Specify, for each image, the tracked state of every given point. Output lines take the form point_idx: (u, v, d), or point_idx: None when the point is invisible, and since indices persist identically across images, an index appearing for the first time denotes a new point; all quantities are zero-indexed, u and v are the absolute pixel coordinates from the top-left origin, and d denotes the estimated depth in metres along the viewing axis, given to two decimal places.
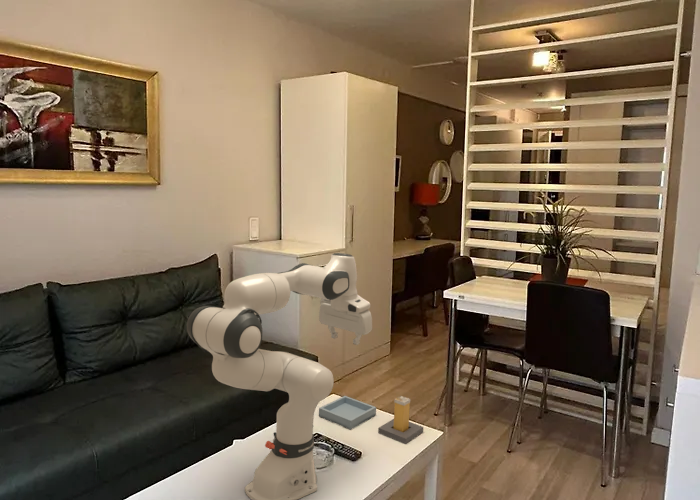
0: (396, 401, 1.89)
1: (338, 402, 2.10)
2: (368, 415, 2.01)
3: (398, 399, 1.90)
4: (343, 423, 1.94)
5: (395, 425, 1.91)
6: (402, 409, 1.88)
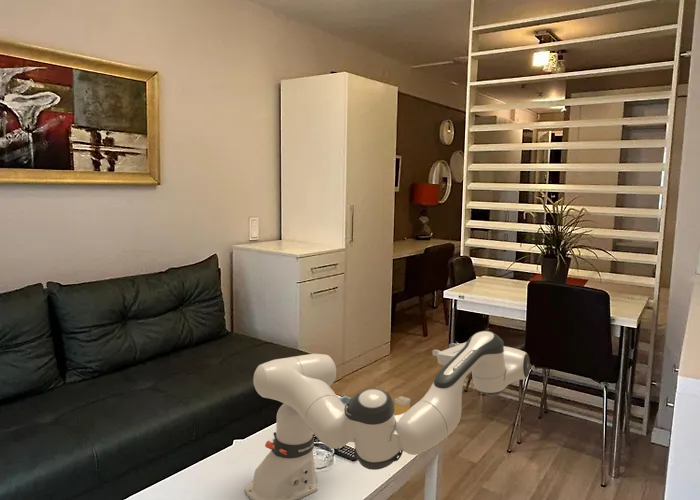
0: (396, 401, 1.89)
1: None
2: None
3: (398, 399, 1.90)
4: None
5: None
6: (402, 409, 1.88)
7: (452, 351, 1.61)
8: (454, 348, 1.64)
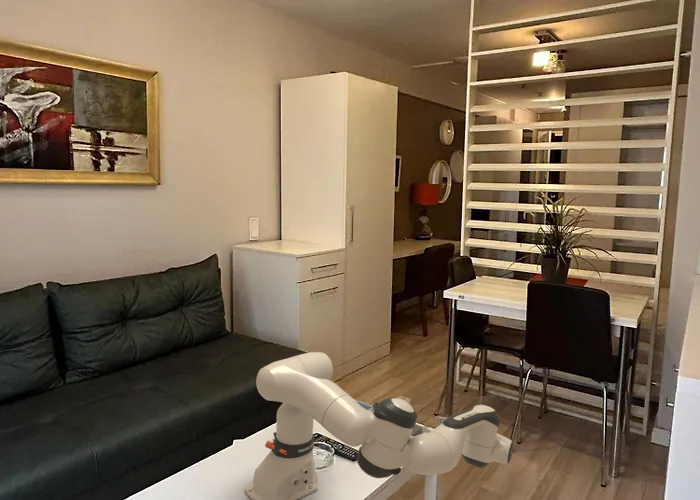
0: None
1: None
2: None
3: None
4: None
5: None
6: None
7: None
8: None
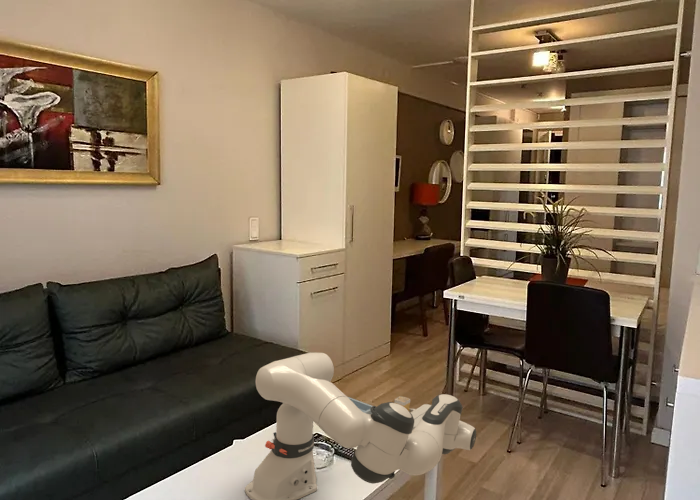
0: (396, 401, 1.89)
1: None
2: None
3: (398, 399, 1.90)
4: None
5: None
6: None
7: None
8: None
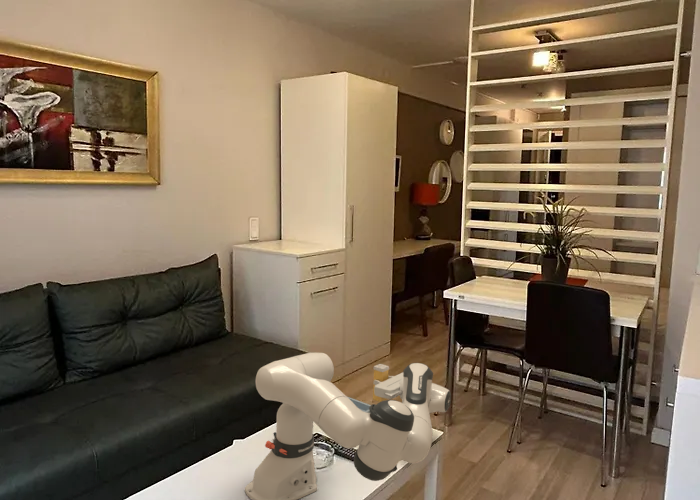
0: (375, 368, 1.94)
1: None
2: None
3: (377, 366, 1.95)
4: None
5: None
6: (381, 376, 1.93)
7: (387, 384, 1.87)
8: (389, 381, 1.90)
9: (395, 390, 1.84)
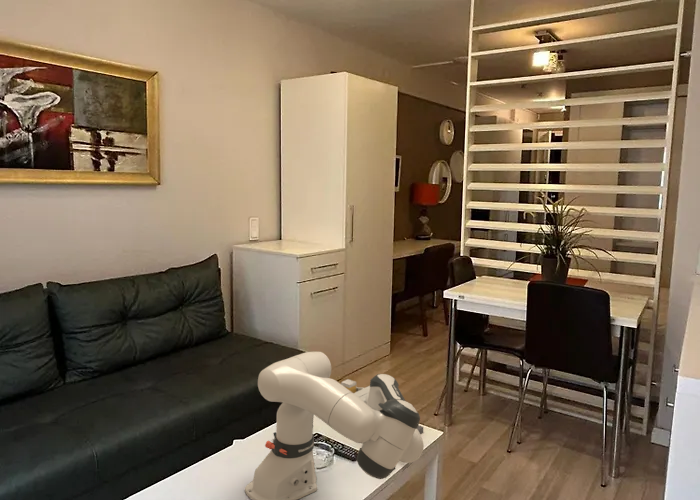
0: (342, 384, 2.01)
1: None
2: None
3: (344, 382, 2.01)
4: None
5: None
6: None
7: None
8: (355, 394, 1.97)
9: None
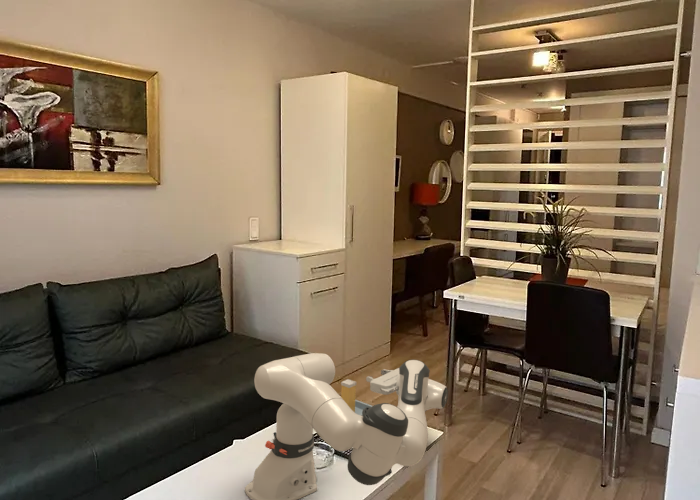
0: (342, 384, 2.01)
1: None
2: None
3: (344, 382, 2.01)
4: None
5: None
6: (348, 391, 2.00)
7: (383, 379, 1.85)
8: (385, 376, 1.88)
9: (391, 386, 1.81)
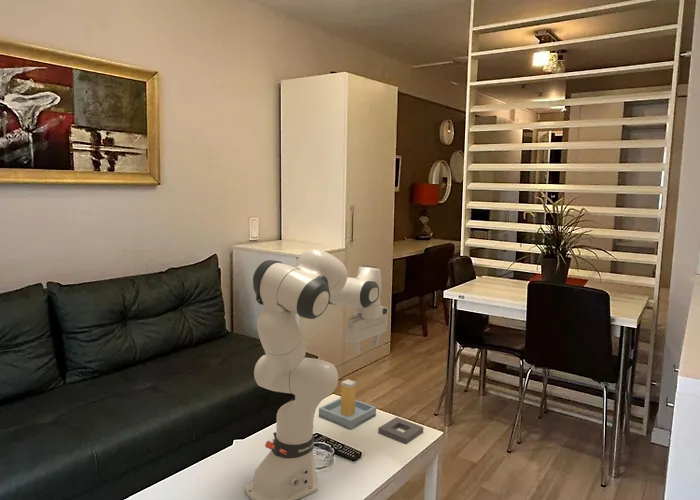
0: (342, 384, 2.01)
1: (338, 402, 2.10)
2: (368, 415, 2.01)
3: (344, 382, 2.01)
4: (343, 423, 1.94)
5: (342, 406, 2.02)
6: (348, 391, 2.00)
7: None
8: None
9: None
